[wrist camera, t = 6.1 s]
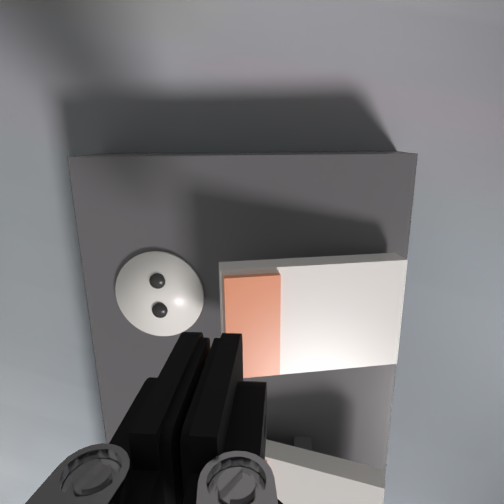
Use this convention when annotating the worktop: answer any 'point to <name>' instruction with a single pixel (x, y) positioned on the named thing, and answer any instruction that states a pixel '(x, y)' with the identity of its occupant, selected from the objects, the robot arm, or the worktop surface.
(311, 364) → the rocker outlet
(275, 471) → the outlet rocker
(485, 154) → the worktop surface
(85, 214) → the power strip
